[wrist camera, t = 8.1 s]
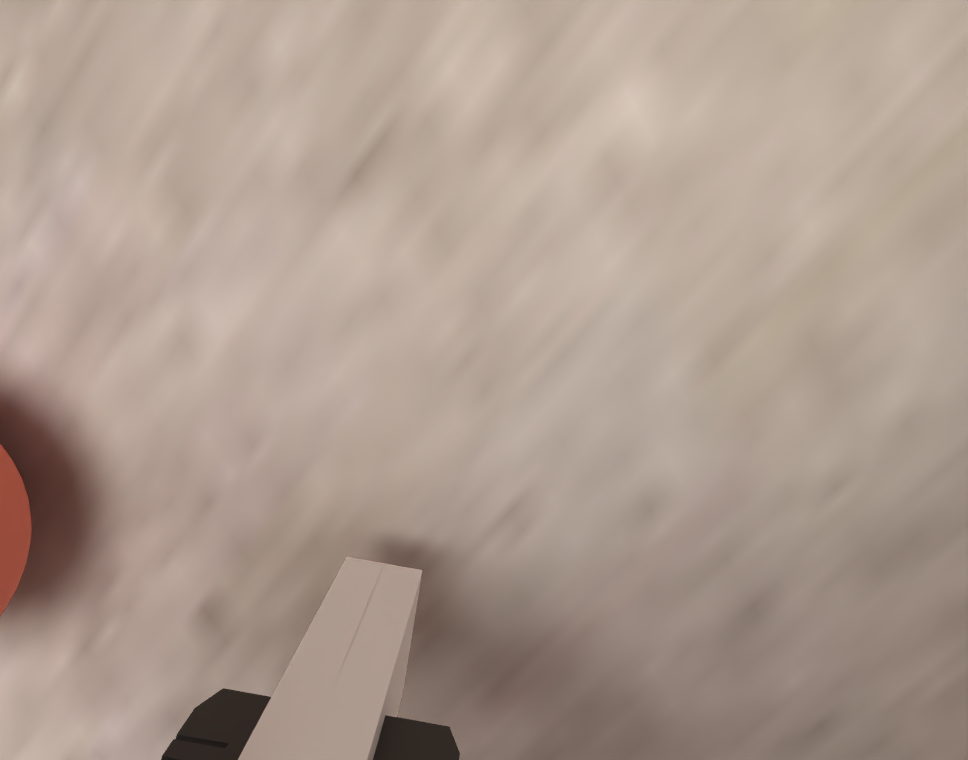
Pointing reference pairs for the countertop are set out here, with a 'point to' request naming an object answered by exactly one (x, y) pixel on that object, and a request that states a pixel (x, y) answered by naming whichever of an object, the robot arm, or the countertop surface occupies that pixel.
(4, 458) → the ball
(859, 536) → the countertop surface
